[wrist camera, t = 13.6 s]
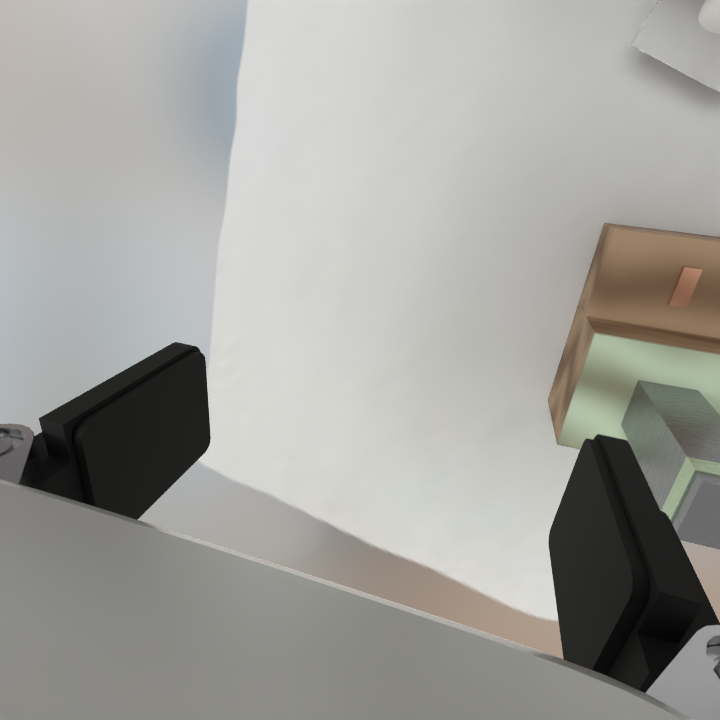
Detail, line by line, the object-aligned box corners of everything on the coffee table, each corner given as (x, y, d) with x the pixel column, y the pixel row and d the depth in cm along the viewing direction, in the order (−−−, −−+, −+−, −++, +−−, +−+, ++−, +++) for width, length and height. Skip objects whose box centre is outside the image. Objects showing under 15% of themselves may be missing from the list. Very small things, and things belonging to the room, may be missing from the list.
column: (637, 378, 33) (701, 479, 23) (700, 389, 32) (797, 499, 22) (619, 425, 35) (671, 539, 25) (678, 437, 34) (758, 560, 24)
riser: (604, 222, 37) (628, 237, 30) (772, 244, 34) (840, 264, 27) (547, 400, 44) (557, 444, 37) (682, 427, 41) (719, 480, 35)
